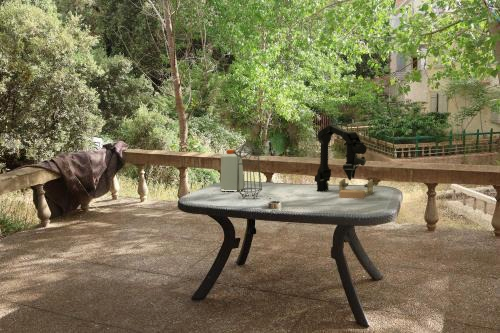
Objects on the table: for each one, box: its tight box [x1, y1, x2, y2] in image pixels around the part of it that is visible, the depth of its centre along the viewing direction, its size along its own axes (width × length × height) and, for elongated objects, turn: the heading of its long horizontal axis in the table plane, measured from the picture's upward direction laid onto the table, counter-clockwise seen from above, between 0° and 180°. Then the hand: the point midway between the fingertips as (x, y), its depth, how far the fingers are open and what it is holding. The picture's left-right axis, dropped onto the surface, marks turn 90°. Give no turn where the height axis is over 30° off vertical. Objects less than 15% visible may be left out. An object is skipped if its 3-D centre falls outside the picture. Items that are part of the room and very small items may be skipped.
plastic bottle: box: [220, 149, 246, 190], centre depth 317 cm, size 15×15×28 cm
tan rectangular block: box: [338, 189, 366, 200], centre depth 276 cm, size 14×6×4 cm, turn 65°
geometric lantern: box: [233, 141, 263, 198], centre depth 289 cm, size 16×16×35 cm
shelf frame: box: [338, 178, 374, 196], centre depth 288 cm, size 18×12×8 cm, turn 66°
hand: (351, 179), depth 275 cm, fingers open, 9 cm apart
